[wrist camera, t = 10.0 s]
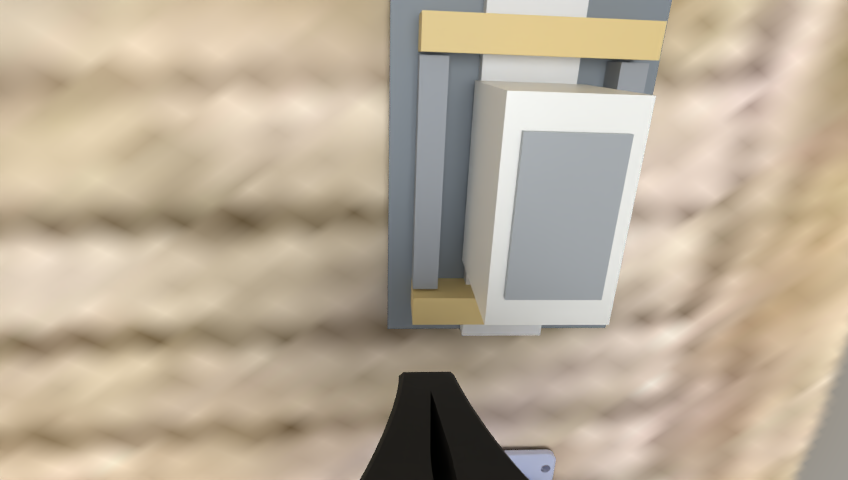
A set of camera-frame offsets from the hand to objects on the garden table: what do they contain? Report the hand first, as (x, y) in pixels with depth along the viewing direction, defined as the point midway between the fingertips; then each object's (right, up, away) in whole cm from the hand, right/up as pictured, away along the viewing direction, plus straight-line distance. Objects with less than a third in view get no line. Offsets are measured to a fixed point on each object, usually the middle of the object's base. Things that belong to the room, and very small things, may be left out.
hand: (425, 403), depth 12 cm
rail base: (+4, +7, +8) cm, 11 cm away
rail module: (+4, +7, +6) cm, 10 cm away
